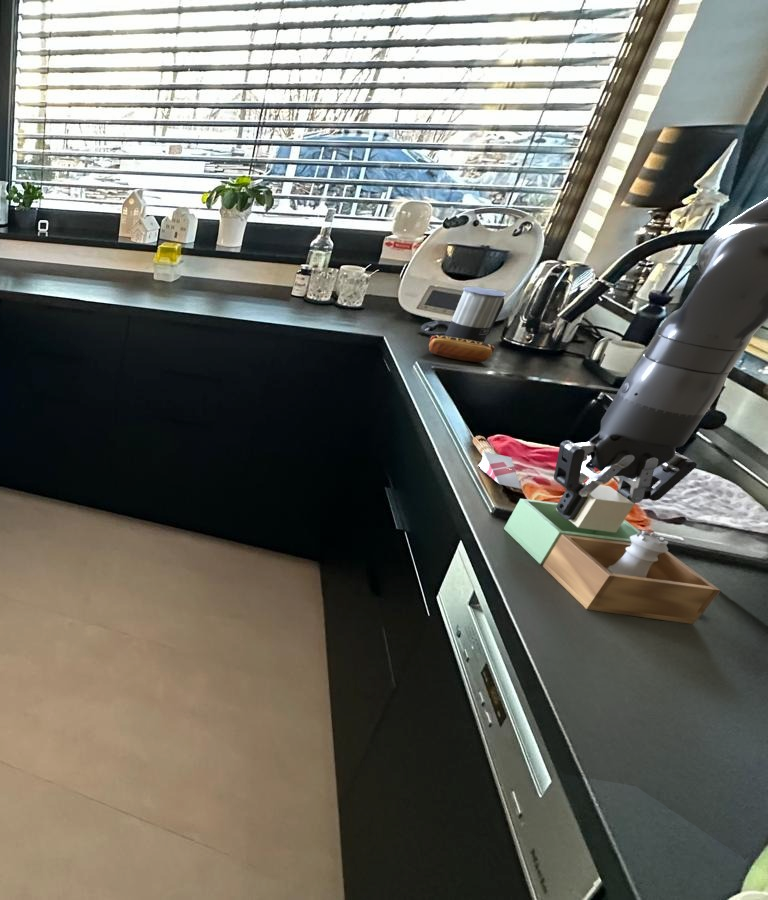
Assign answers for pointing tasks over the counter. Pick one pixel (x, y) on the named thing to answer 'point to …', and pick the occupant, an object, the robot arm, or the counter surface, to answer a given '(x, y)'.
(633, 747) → the counter surface
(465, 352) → the hot dog
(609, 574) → the oak bin
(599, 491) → the cream block
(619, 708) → the counter surface
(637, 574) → the rook chess piece
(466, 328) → the milk frother
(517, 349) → the counter surface
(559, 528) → the sage bin
